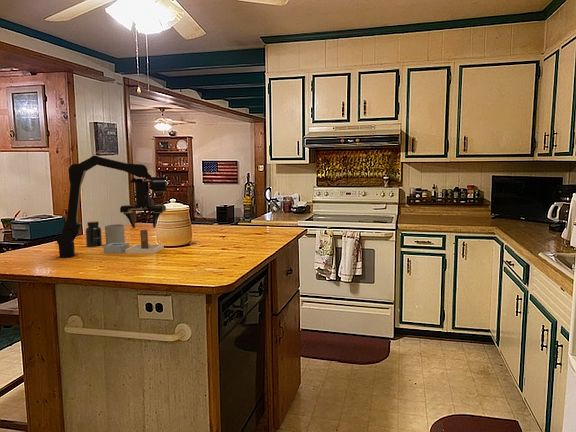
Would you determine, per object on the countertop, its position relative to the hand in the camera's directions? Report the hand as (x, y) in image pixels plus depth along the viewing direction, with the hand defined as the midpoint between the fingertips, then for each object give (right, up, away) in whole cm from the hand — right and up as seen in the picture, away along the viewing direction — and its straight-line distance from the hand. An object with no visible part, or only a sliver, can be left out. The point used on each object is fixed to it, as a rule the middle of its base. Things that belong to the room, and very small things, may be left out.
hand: (144, 227), depth 193 cm
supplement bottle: (-29, -10, +15) cm, 34 cm away
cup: (-19, -9, +15) cm, 26 cm away
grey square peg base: (-13, -11, +1) cm, 17 cm away
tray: (0, -11, +1) cm, 11 cm away
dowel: (0, -10, +1) cm, 10 cm away
